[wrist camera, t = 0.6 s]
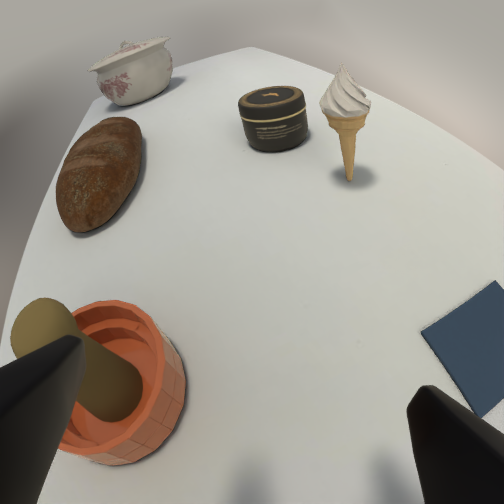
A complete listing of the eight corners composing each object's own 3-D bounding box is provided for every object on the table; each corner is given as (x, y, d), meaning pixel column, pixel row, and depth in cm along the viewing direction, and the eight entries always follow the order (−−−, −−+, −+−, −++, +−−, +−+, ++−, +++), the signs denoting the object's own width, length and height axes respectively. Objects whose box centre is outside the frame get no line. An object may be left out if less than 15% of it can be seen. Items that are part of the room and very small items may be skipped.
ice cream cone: (380, 183, 36) (380, 63, 26) (346, 200, 35) (338, 72, 25) (351, 164, 40) (343, 54, 30) (317, 179, 39) (303, 63, 29)
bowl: (180, 477, 18) (151, 469, 15) (49, 449, 20) (14, 434, 17) (195, 324, 28) (176, 294, 25) (78, 328, 30) (54, 304, 27)
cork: (151, 407, 22) (63, 340, 15) (93, 431, 21) (-4, 375, 13) (133, 349, 26) (61, 269, 19) (81, 374, 25) (2, 305, 18)
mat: (478, 420, 16) (480, 418, 16) (420, 333, 23) (421, 331, 22) (548, 349, 17) (550, 348, 17) (494, 281, 24) (495, 279, 23)
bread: (148, 126, 67) (136, 94, 61) (145, 215, 41) (119, 163, 35) (89, 151, 66) (75, 121, 60) (53, 253, 41) (22, 210, 35)
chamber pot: (180, 95, 80) (159, 29, 65) (94, 126, 82) (69, 66, 67) (187, 74, 100) (172, 23, 85) (117, 98, 102) (99, 50, 87)
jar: (252, 129, 53) (242, 89, 48) (309, 123, 51) (303, 82, 46) (242, 157, 47) (230, 111, 41) (310, 151, 44) (304, 103, 39)
